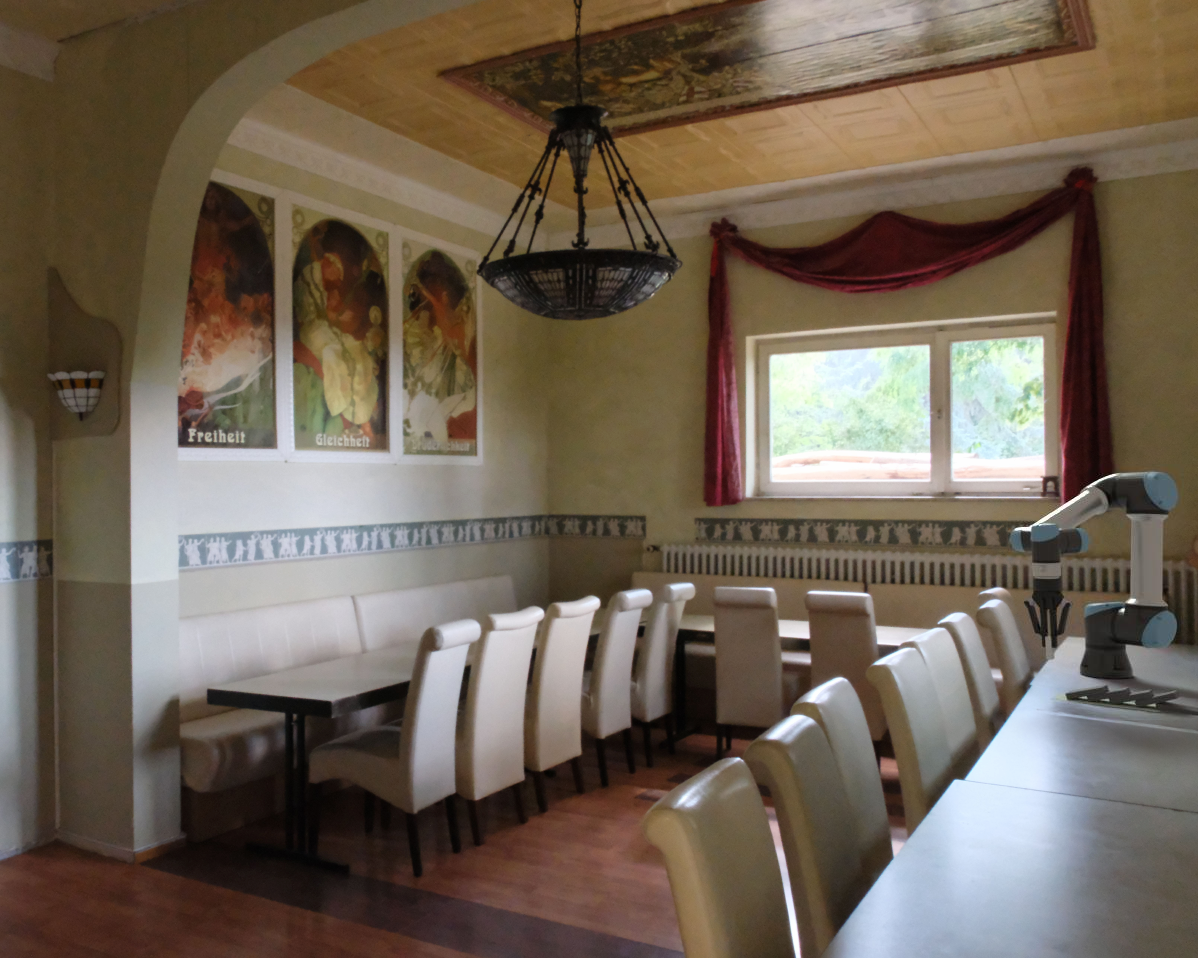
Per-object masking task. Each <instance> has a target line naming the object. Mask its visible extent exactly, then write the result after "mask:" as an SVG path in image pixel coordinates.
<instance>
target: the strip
mask: <svg viewBox="0 0 1198 958" xmlns="http://www.w3.org/2000/svg"><path fill="white" fill-rule="evenodd" d="M1065 694H1066V693H1059V694H1057V695H1056V696H1054V697H1051V700H1055V701H1063V702H1064V701H1065V702H1073V703H1081V704H1088V705H1096V706H1107V707H1113V708H1114V707H1115V708H1122V709H1130V710H1137V711H1147V712H1154V713H1161V711H1160V710H1155V706H1156V704H1151V705H1146V706H1142V707H1136V704H1135V701H1130V702H1123V703H1117V704H1110V701H1109V699H1103V700H1097V701H1091V702H1088V699H1087V696H1085V697H1079V698H1073V699H1067V698H1066V695H1065Z"/></svg>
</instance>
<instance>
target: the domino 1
mask: <svg viewBox="0 0 1198 958" xmlns="http://www.w3.org/2000/svg"><path fill="white" fill-rule="evenodd" d="M1109 690H1110V688H1109V685H1108V684H1104V685H1103V684H1102V685H1097V686H1092V687H1085V688H1081V689H1075V690H1074V689H1073V690H1069V691H1068V692H1066V693H1064V694H1065V695H1066V698H1067V699H1073V698H1079V697H1087V696H1091V695H1097V694H1103V693H1105V692H1107V691H1109Z"/></svg>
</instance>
